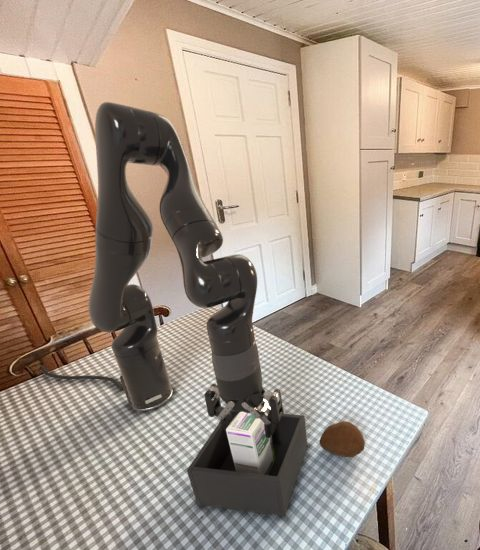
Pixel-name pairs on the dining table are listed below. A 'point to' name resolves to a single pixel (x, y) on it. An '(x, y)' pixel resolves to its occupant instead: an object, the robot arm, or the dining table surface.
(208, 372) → the dining table surface
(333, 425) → the potato
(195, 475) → the basket
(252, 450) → the syrup box
